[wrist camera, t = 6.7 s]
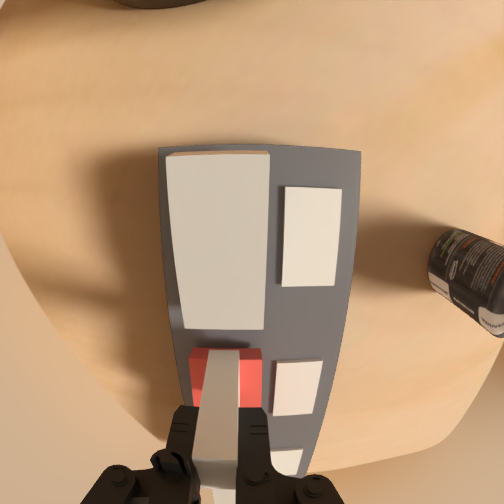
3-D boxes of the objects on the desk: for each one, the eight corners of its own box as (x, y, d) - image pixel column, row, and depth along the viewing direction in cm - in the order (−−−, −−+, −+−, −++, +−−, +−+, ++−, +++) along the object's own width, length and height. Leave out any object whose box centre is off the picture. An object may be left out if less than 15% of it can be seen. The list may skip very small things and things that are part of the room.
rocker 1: (174, 152, 11) (165, 157, 10) (267, 150, 11) (270, 154, 10) (189, 310, 14) (184, 328, 13) (261, 311, 14) (263, 329, 13)
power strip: (180, 153, 17) (152, 146, 12) (332, 155, 18) (368, 150, 12) (207, 445, 25) (203, 487, 20) (298, 444, 26) (305, 485, 20)
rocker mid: (193, 347, 15) (188, 358, 14) (260, 348, 15) (262, 359, 14) (203, 444, 16) (201, 457, 15) (258, 445, 16) (259, 459, 15)
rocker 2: (208, 445, 18) (206, 457, 16) (257, 446, 18) (258, 458, 17) (215, 495, 19) (214, 505, 17) (256, 495, 19) (256, 506, 17)
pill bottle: (426, 301, 21) (507, 374, 10) (423, 237, 19) (528, 291, 8) (471, 280, 21) (551, 334, 10) (471, 220, 19) (568, 258, 8)
